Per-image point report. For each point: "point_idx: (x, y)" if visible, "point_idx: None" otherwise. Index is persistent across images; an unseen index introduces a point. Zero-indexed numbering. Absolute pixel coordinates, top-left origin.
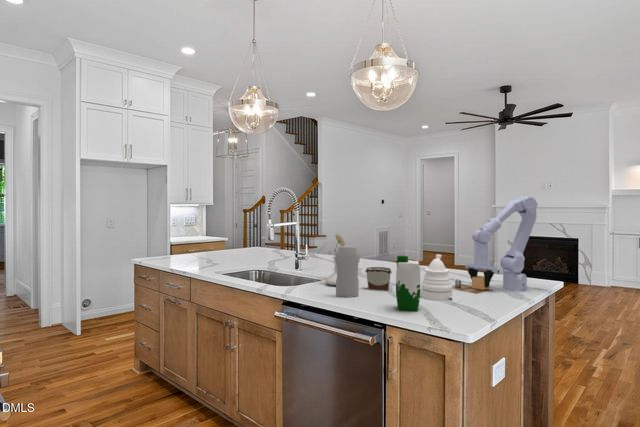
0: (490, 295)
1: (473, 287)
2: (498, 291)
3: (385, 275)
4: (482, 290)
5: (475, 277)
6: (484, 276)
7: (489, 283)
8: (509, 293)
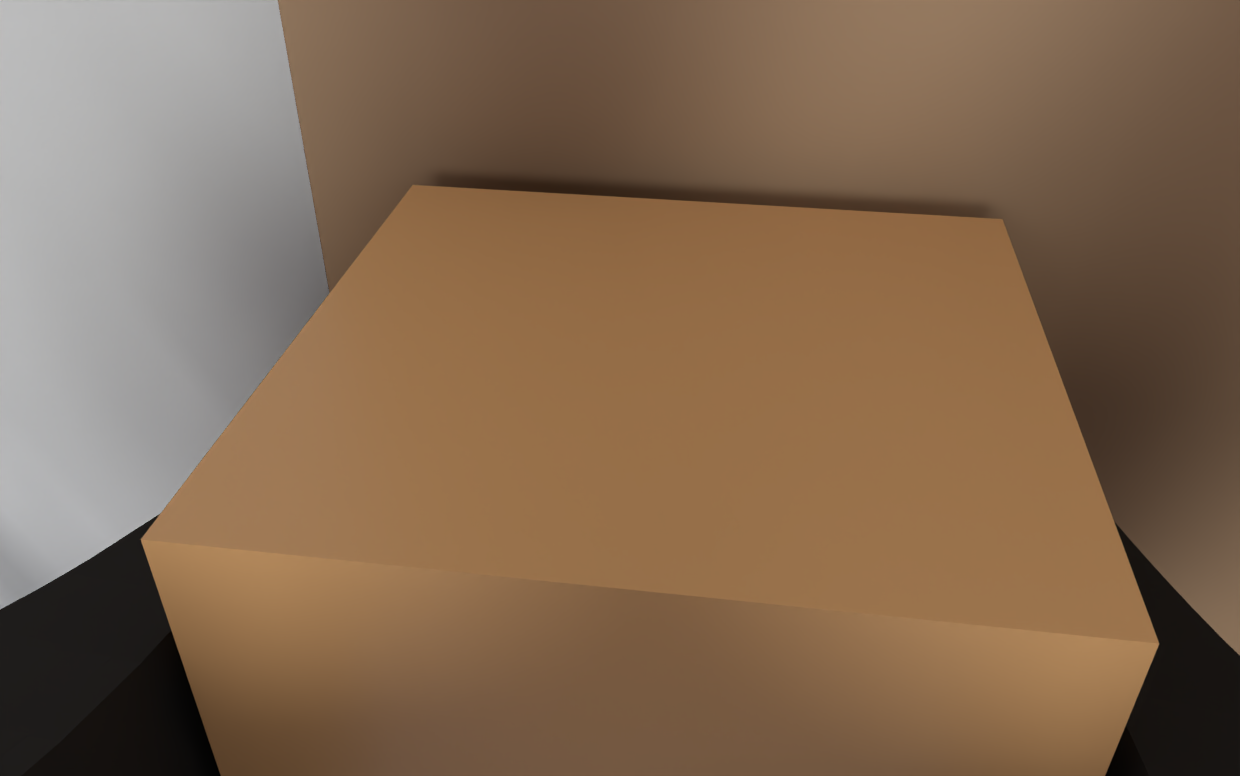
0: (128, 66)
1: (920, 229)
2: None
3: None
4: None
5: (832, 630)
6: (33, 758)
7: None
8: None
